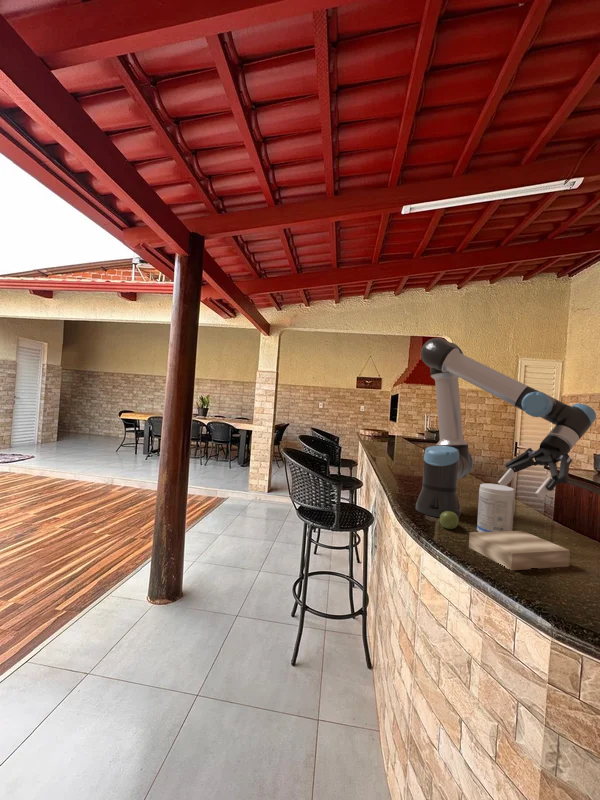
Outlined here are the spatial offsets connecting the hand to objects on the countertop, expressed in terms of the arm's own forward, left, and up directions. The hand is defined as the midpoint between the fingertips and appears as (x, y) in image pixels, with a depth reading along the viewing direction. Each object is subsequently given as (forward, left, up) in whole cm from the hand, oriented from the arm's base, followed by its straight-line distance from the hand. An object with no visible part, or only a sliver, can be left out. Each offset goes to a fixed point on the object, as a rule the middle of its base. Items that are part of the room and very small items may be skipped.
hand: (518, 490), depth 115 cm
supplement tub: (-1, -7, -14) cm, 16 cm away
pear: (-10, -17, -14) cm, 24 cm away
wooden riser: (+14, -14, -14) cm, 24 cm away
